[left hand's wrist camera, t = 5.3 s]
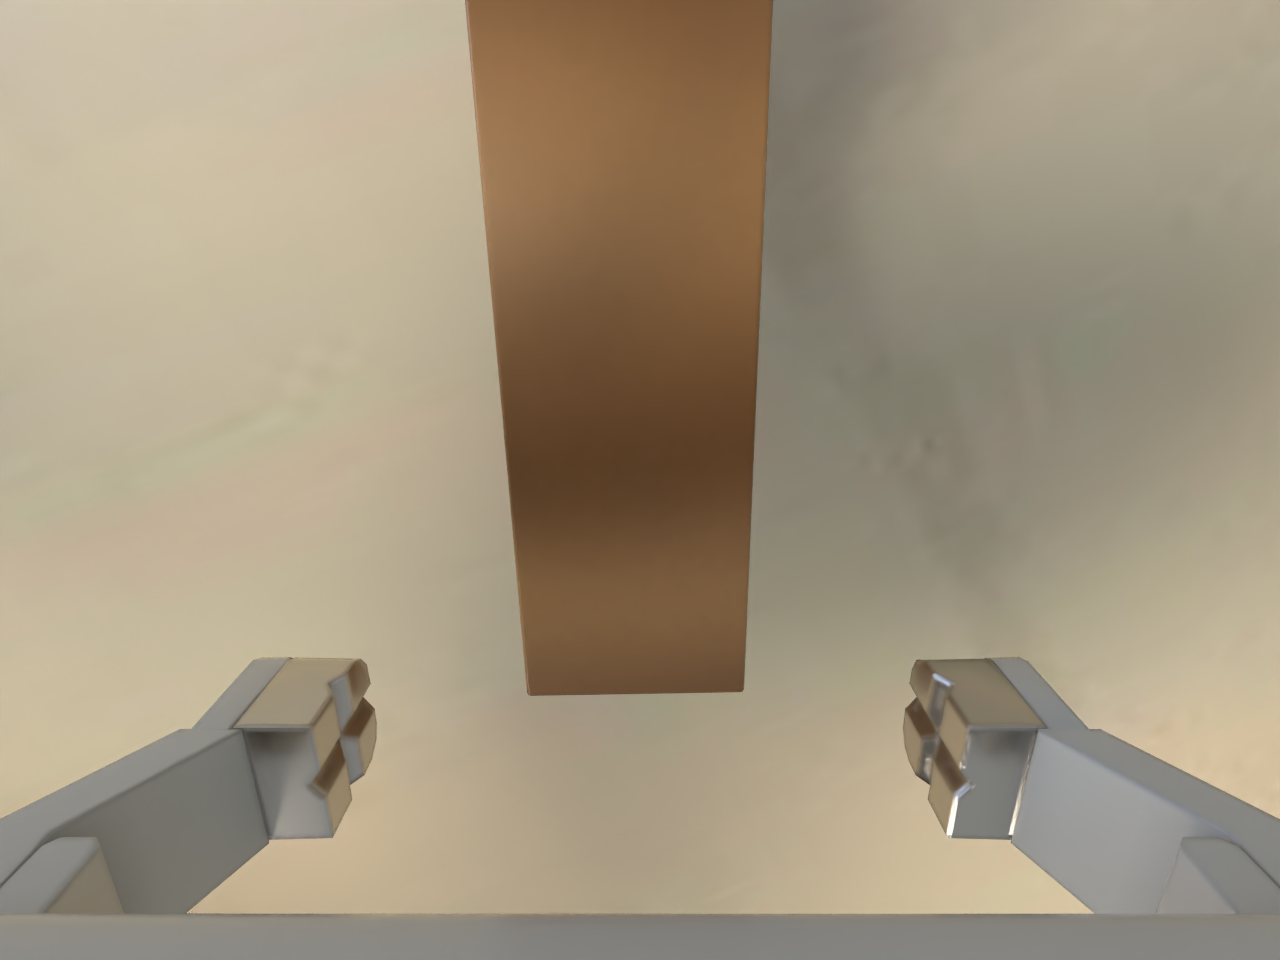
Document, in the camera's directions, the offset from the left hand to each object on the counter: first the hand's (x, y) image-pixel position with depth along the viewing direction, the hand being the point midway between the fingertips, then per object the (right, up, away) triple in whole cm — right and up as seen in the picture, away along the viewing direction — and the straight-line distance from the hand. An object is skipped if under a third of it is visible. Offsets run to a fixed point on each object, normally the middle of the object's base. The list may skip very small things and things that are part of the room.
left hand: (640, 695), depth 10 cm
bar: (0, +14, +6) cm, 16 cm away
